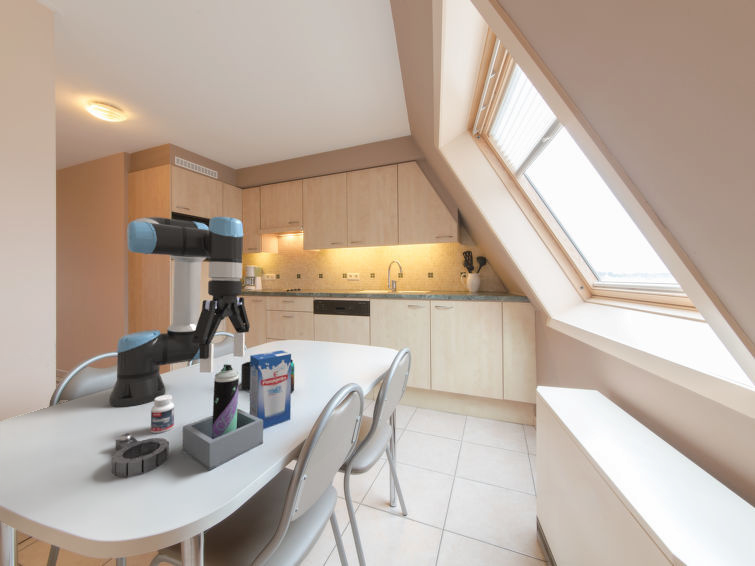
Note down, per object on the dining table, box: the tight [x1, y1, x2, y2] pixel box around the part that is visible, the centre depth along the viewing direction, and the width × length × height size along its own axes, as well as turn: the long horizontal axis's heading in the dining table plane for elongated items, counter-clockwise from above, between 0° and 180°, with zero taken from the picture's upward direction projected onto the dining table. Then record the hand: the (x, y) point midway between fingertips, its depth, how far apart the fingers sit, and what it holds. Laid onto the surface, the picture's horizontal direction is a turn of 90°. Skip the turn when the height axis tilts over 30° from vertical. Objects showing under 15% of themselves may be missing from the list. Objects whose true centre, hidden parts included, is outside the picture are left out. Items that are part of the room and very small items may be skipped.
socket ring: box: [111, 433, 170, 479], centre depth 68 cm, size 17×10×3 cm, turn 56°
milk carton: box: [249, 349, 292, 430], centre depth 86 cm, size 10×6×20 cm, turn 135°
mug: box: [240, 361, 250, 391], centre depth 113 cm, size 9×12×9 cm
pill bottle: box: [150, 394, 175, 434], centre depth 81 cm, size 5×5×9 cm
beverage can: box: [291, 359, 295, 394], centre depth 108 cm, size 7×7×12 cm
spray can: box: [212, 363, 240, 439], centre depth 72 cm, size 6×6×20 cm
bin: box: [182, 408, 264, 471], centre depth 72 cm, size 13×13×6 cm
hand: (224, 363), depth 72 cm, fingers open, 13 cm apart
